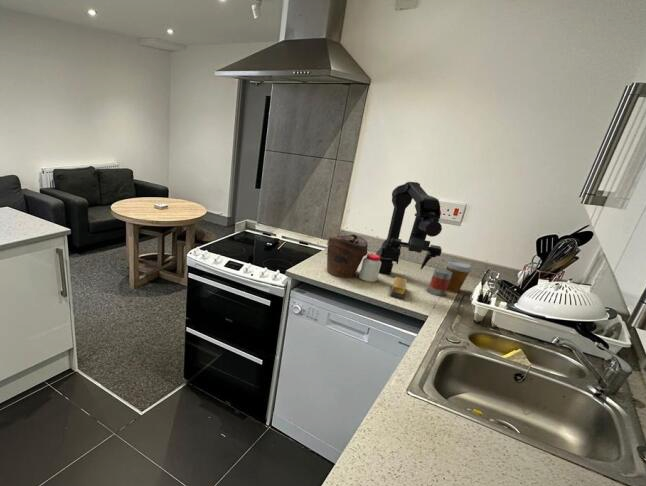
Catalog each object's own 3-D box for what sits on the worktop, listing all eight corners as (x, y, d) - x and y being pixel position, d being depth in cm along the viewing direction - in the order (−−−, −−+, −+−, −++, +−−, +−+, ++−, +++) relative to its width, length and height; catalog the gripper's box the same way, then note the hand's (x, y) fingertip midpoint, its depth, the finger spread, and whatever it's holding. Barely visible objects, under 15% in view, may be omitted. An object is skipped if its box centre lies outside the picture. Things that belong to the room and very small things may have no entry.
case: (357, 267, 191) (365, 232, 184) (364, 282, 173) (374, 243, 165) (319, 262, 193) (327, 227, 186) (323, 277, 175) (331, 238, 168)
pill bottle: (377, 277, 180) (383, 255, 176) (376, 283, 173) (382, 259, 169) (359, 274, 183) (365, 251, 178) (358, 279, 176) (364, 256, 172)
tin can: (427, 293, 167) (434, 271, 163) (427, 288, 173) (434, 267, 169) (445, 297, 165) (453, 275, 161) (444, 292, 170) (452, 270, 166)
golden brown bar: (390, 296, 161) (393, 286, 159) (392, 286, 172) (395, 276, 170) (402, 298, 159) (405, 289, 157) (403, 288, 170) (406, 279, 168)
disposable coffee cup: (460, 287, 177) (469, 262, 172) (465, 295, 168) (475, 269, 163) (437, 283, 179) (445, 258, 174) (441, 291, 171) (450, 265, 166)
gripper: (393, 229, 152) (383, 266, 158) (447, 238, 145) (434, 277, 151) (395, 224, 162) (385, 259, 168) (446, 232, 154) (433, 269, 161)
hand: (409, 266), depth 162 cm, fingers open, 9 cm apart
